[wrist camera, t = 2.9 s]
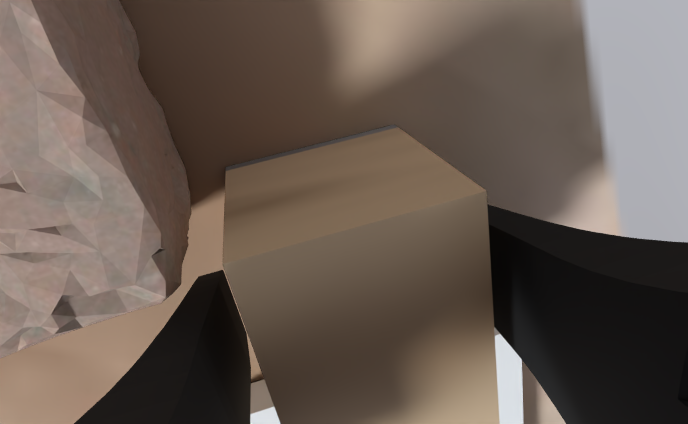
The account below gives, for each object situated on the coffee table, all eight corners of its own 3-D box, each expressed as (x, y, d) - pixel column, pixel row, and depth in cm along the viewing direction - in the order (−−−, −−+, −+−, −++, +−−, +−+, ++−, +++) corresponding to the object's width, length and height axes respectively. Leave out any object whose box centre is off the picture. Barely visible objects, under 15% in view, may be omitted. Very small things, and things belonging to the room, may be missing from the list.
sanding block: (419, 302, 15) (499, 430, 10) (283, 344, 14) (307, 496, 10) (393, 123, 12) (486, 191, 8) (225, 165, 12) (222, 264, 7)
